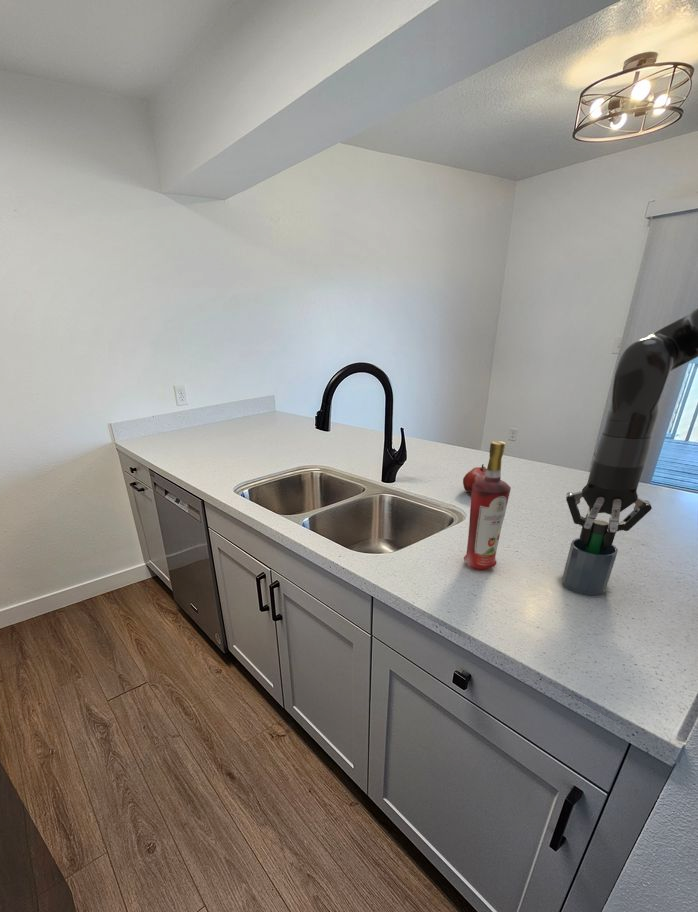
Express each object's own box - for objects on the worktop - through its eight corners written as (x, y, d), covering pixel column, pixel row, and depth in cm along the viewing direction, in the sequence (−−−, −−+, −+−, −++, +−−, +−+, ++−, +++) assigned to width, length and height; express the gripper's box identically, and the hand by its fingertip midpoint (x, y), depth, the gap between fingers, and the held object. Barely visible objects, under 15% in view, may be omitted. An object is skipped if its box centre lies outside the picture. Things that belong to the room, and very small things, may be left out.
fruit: (460, 487, 143) (464, 458, 138) (491, 489, 140) (496, 458, 136) (462, 497, 135) (466, 466, 131) (495, 499, 132) (500, 467, 128)
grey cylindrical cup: (586, 573, 93) (597, 536, 89) (614, 593, 86) (627, 553, 82) (553, 577, 92) (562, 540, 88) (579, 597, 85) (590, 557, 81)
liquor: (484, 555, 102) (503, 437, 90) (503, 571, 95) (526, 445, 83) (455, 560, 101) (470, 440, 89) (472, 575, 94) (491, 449, 82)
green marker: (587, 568, 89) (601, 519, 84) (597, 574, 86) (612, 524, 82) (575, 569, 89) (589, 520, 84) (585, 576, 86) (599, 525, 81)
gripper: (573, 461, 78) (552, 547, 85) (672, 469, 71) (640, 561, 79) (573, 451, 83) (553, 532, 91) (665, 457, 77) (636, 544, 84)
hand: (594, 545), depth 85 cm, fingers closed on green marker, 2 cm apart
